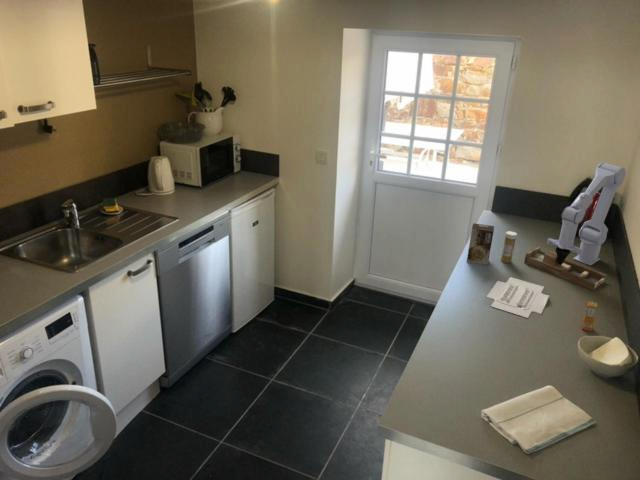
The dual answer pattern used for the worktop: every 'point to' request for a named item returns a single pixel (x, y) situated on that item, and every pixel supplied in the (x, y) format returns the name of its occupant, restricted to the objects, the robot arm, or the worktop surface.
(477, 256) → the coffee box
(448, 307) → the worktop surface
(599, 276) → the brown wooden open box
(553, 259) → the walnut block
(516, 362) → the worktop surface
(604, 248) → the worktop surface
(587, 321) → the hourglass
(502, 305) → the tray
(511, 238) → the sprinkles bottle
